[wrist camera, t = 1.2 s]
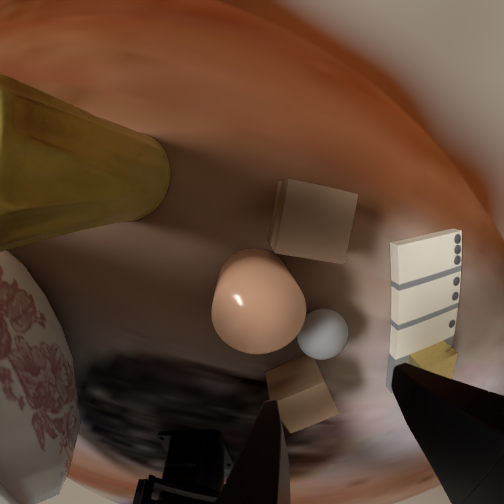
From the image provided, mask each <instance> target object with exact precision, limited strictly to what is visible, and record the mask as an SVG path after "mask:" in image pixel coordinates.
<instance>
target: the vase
mask: <svg viewBox="0 0 504 504" xmlns="http://www.w3.org/2000/svg"><path fill="white" fill-rule="evenodd" d="M169 181H170V166H169V162H168V158H167V155H166V153H165V150H164V149H163V148H162V146H161V145H160V144H159V143H158V142H157V141H156V140H155V139H154V138H152V137H150V136H148V135H145V134H142V133H139V132H136V131H134V130H131V129H129V128H126V127H124V126H121V125H119V124H116V123H113V122H110V121H107V120H105V119H102V118H98V117H96V116H94V115H92V114H90V113H88V112H86V111H84V110H82V109H80V108H78V107H75V106H73V105H71V104H69V103H66V102H64V101H62V100H60V99H57V98H55V97H53V96H51V95H49V94H47V93H44V92H42V91H40V90H38V89H36V88H33V87H31V86H28V85H26V84H24V83H22V82H19V81H17V80H15V79H13V78H11V77H8V76H6V75H3V74H0V252H2V251H5V250H8V249H12V248H15V247H19V246H23V245H26V244H30V243H33V242H37V241H40V240H44V239H48V238H52V237H56V236H60V235H64V234H68V233H72V232H75V231H80V230H85V229H90V228H94V227H98V226H103V225H107V224H111V223H116V222H122V221H135V220H138V219H140V218H143V217H144V216H146V215H148V214H150V213H151V212H152V211H154V210H155V209H156V208H157V207H158V205H159V204H160V203H161V201H162V200H163V198H164V197H165V195H166V192H167V189H168V186H169Z"/></svg>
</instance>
